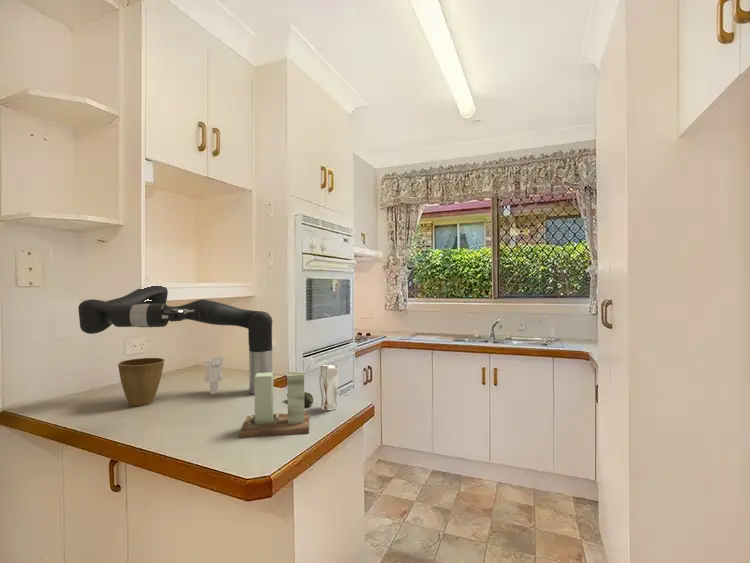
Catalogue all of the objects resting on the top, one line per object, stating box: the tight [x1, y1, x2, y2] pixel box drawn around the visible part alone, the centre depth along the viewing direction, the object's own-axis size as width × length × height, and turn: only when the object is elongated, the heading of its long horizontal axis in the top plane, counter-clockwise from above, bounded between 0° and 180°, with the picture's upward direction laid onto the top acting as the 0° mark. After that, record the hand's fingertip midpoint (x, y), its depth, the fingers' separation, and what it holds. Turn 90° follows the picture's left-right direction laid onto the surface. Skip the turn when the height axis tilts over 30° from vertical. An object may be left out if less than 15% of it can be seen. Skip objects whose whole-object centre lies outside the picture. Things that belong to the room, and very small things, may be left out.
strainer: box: [204, 355, 224, 395], centre depth 159 cm, size 7×7×15 cm
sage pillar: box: [254, 371, 274, 423], centre depth 121 cm, size 5×5×15 cm
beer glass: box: [318, 364, 340, 411], centre depth 138 cm, size 7×7×15 cm
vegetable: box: [286, 391, 314, 407], centre depth 144 cm, size 14×5×5 cm, turn 44°
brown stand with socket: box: [239, 371, 310, 439], centre depth 121 cm, size 14×20×16 cm
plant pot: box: [117, 357, 165, 407], centre depth 145 cm, size 15×15×16 cm
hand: (203, 314), depth 126 cm, fingers open, 8 cm apart
